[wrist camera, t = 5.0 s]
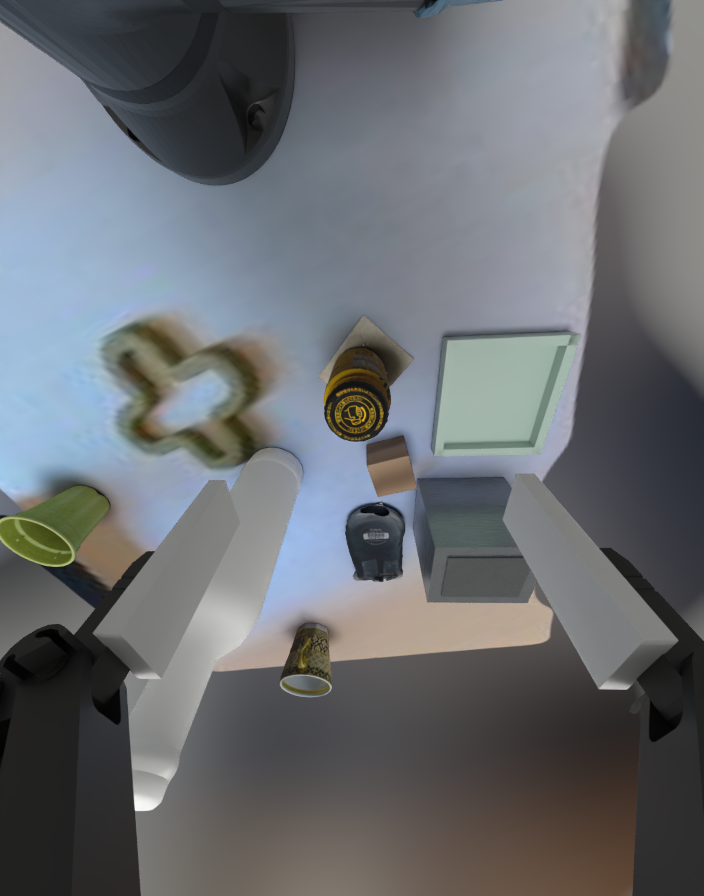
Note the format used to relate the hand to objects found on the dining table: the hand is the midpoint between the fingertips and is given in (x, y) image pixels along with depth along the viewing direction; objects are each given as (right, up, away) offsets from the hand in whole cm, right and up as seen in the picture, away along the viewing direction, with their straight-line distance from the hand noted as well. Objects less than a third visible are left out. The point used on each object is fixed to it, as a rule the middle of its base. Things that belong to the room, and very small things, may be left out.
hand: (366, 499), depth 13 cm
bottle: (-12, -1, +27) cm, 30 cm away
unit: (+15, -6, +29) cm, 33 cm away
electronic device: (+3, -12, +34) cm, 36 cm away
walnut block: (+4, +1, +25) cm, 26 cm away
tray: (+16, +8, +20) cm, 27 cm away
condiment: (+1, +12, +19) cm, 23 cm away
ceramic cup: (-9, -37, +49) cm, 62 cm away
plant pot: (-42, -6, +32) cm, 53 cm away
